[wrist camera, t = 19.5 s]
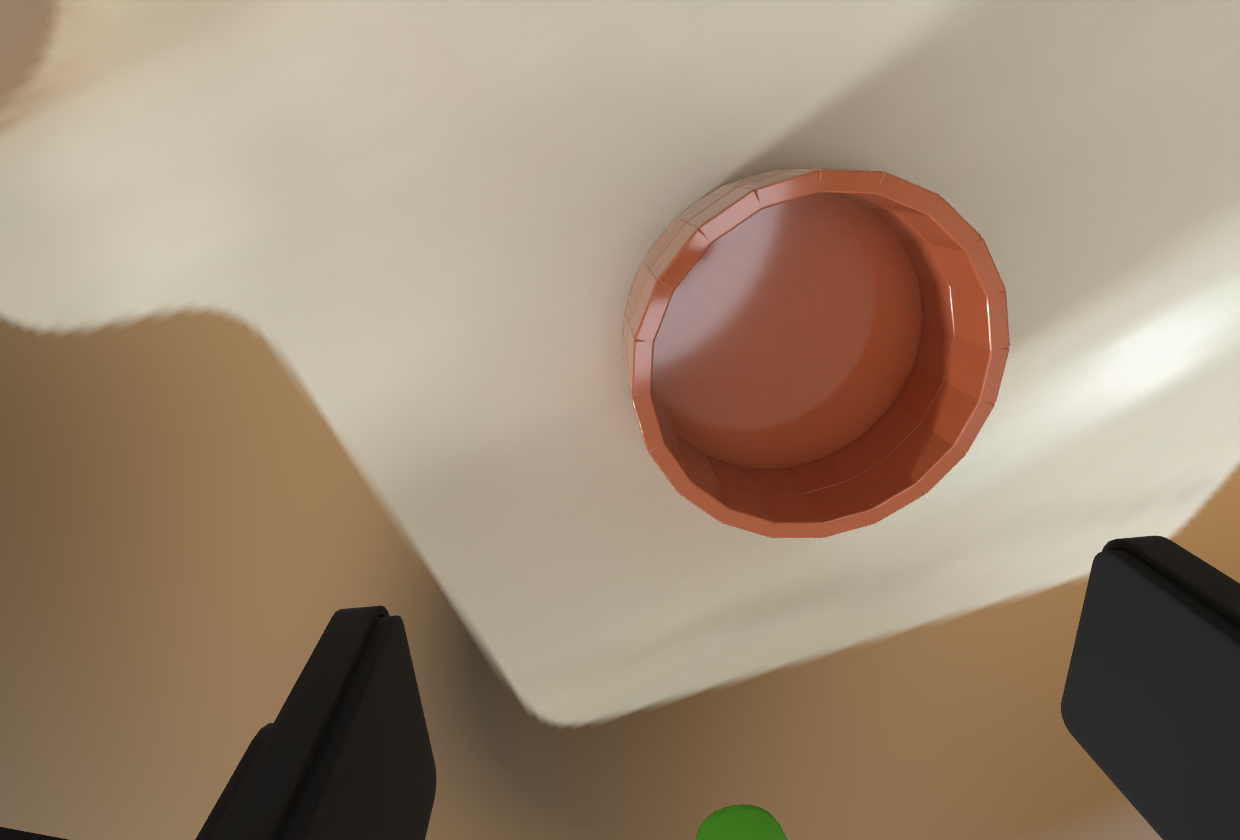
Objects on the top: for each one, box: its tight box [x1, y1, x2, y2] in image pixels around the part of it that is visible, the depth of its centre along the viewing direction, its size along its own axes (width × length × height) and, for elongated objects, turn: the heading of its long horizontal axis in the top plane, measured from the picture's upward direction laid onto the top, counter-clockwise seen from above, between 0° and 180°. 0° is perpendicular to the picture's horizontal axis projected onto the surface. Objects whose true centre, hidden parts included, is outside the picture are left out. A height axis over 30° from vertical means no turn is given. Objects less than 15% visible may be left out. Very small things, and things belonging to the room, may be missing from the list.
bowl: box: [623, 169, 1010, 538], centre depth 26 cm, size 13×13×6 cm
